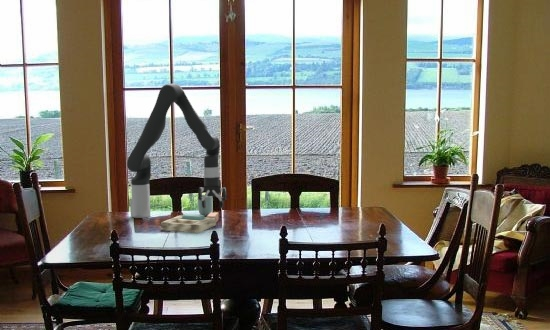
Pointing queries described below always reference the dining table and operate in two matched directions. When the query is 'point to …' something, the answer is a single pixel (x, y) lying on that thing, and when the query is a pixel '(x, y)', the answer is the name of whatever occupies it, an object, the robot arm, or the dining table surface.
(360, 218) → the dining table surface
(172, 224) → the slot rack
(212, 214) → the block
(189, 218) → the batten teal
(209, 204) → the cup
